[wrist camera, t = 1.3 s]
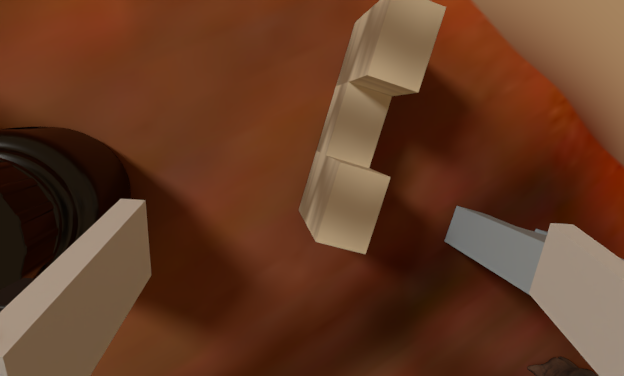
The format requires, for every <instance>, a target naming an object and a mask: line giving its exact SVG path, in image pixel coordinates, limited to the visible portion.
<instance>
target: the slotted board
mask: <svg viewBox="0 0 624 376" xmlns="http://www.w3.org/2000/svg"><path fill="white" fill-rule="evenodd" d="M445 9H446V7H444V6H441V5H439V4H436V3H434V2H431V1H429V0H380V1H379V2H377V3H376V4H375V5H374V6H373V7H372V8H371V9H370V10H368V11H367V12H366V13H365V14H364V15H363V16H362V17H361V18H360V19H358V20H357V21H356V22H355V25H354V28H353V32H352V35H351V38H350V42H349V45H348V48H347V52H346V55H345V58H344V61H343V65H342V68H341V71H340V75H339V78H338V81H337V85H336V88H335V91H334V95H333V98H332V101H331V105H330V108H329V111H328V115H327V118H326V121H325V124H324V128H323V131H322V134H321V138H320V141H319V144H318V148H317V151H316V154H315V158H314V161H313V164H312V168H311V171H310V174H309V177H308V181H307V184H306V187H305V191H304V194H303V197H302V201H301V204H300V207H299V212H300V214H301V216H302V217H303V219H304V221H305V223H306V225H307V227H308V229H309V230H310V232H311V234H312V236H313V238H314V240H315V241H316V242H319V243H322V244H326V245H330V246H334V247H338V248H342V249H346V250H350V251H354V252H358V253H362V254H366V252H367V248H368V245H369V242H370V239H371V236H372V233H373V230H374V227H375V224H376V221H377V218H378V215H379V212H380V209H381V206H382V202H383V199H384V196H385V193H386V190H387V187H388V184H389V181H390V178H391V177H389V176H387V175H384V174H382V173H380V172H377V171H375V170H372V169H370V168H369V167H370V164H371V161H372V158H373V155H374V152H375V148H376V145H377V142H378V139H379V136H380V133H381V130H382V126H383V123H384V120H385V117H386V114H387V111H388V108H389V104H390V101H391V98H392V96H399V95H405V94H412V93H418V92H419V89H420V86H421V83H422V80H423V77H424V74H425V71H426V68H427V65H428V62H429V58H430V55H431V52H432V49H433V46H434V43H435V40H436V37H437V34H438V31H439V28H440V25H441V22H442V19H443V16H444V12H445Z"/></svg>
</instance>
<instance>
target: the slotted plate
mask: <svg viewBox="0 0 624 376" xmlns="http://www.w3.org/2000/svg"><path fill="white" fill-rule="evenodd" d="M547 233H548V232H546V231H542V230H539V229H536V230H535V232H533V231H530V230H526V229H523V228H519V227H516V226H514V225H511V224H509V223H506V222H504V221H501V220H499V219H497V218H494V217H492V216H489V215H487V214H484V213H480V212H477V211H473V210H470V209H467V208H463V207H460V206H457V207H456V210H455V212H454V215H453V218H452V221H451V224H450V227H449V230H448V232H447V235H446V238H445V242H446V243H448V244H450V245H451V246H453V247H454V248H456V249H458V250H459V251H461V252H462V253H464V254H465V255H467V256H469V257H470V258H472V259H473V260H475V261H477V262H478V263H480V264H481V265H483V266H484V267H486V268H488V269H489V270H491V271H492V272H494V273H496V274H497V275H499V276H500V277H502V278H503V279H505V280H507V281H508V282H510V283H511V284H513V285H515V286H516V287H518V288H519V289H521V290H522V291H524V292H526V293H527V294H529V291H530V288H531V285H532V281H533V278H534V275H535V272H536V269H537V265H538V262H539V259H540V256H541V253H542V249H543V246H544V243H545V240H546V236H547ZM620 259H621V258H620ZM621 260H623V261H624V259H621ZM529 295H530V294H529Z"/></svg>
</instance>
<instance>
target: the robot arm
mask: <svg viewBox="0 0 624 376" xmlns="http://www.w3.org/2000/svg"><path fill="white" fill-rule="evenodd" d="M150 277H151V263H150V250H149V237H148V224H147V212H146V200H135V199H120V200H119V201H118V202H117V203H116V204H115V205H113V206H112V207H111V208H110V209H109V210H108V211H107V212H106V213H105V214H104V215H103V216H102V217H101V218H100V219H99V220H98V221H96V222H95V223H94V224H93V225H92V226H91V227H90V228H89V229H88V230H87V231H86V232H85V233H84V234H83V235H82V236H81V237H79V238H78V239H77V240H76V241H75V242H74V243H73V244H72V245H71V246H70V247H69V248H68V249H67V250H66V251H65V252H63V253H62V254H61V255H60V256H59V257H58V258H57V259H56V260H55V261H54V262H53V263H52V264H51V265H50V266H49V267H48V268H46V269H45V270H44V271H43V272H42V273H41V274H40V275H39V276H38V277H37V278H22V279H20V280H18V281H16V282H14V283H12V284H10V285H8V286H6V287H5V288H3V289H1V290H0V376H90V375H91V373H92V372H93V370H94V369H95V367H96V365H97V364H98V362H99V360H100V359H101V357H102V355H103V354H104V352H105V350H106V349H107V347H108V346H109V344H110V342H111V341H112V339H113V337H114V336H115V334H116V332H117V331H118V329H119V328H120V326H121V324H122V323H123V321H124V319H125V318H126V316H127V314H128V313H129V311H130V309H131V308H132V306H133V305H134V303H135V301H136V300H137V298H138V296H139V295H140V293H141V291H142V290H143V288H144V287H145V285H146V283H147V282H148V280H149V278H150ZM529 294H530V296H531V297H532V298H533V299H534V300H535V301H536V303H537V304H538V305H539V306H540V307H541V308H542V310H543V311H544V312H545V313H546V314H547V315H548V317H549V318H550V319H551V320H552V321H553V322H554V324H555V325H556V326H557V327H558V328H559V329H560V331H561V332H562V333H563V334H564V335H565V336H566V338H567V339H568V340H569V341H570V342H571V343H572V345H573V346H574V347H575V348H576V349H577V350H578V352H579V353H580V354H581V355H582V356H583V357H584V359H585V360H586V361H587V362H588V363H589V365H590V366H591V367H592V368H593V369H594V370H595V372H596V373H597V374H598V375H599V376H624V261H623V260H621V259H620V258H619V257H617V256H616V255H615V254H613V253H612V252H610V251H609V250H608V249H606V248H605V247H603V246H602V245H601V244H599V243H598V242H597V241H595V240H594V239H592V238H591V237H590V236H588V235H587V234H586V233H584V232H583V231H581V230H580V229H579V228H577V227H576V226H574V225H573V224H555V223H551V224H550V227H549V230H548V233H547V236H546V240H545V243H544V246H543V249H542V253H541V256H540V259H539V262H538V265H537V269H536V272H535V275H534V278H533V281H532V285H531V288H530V291H529Z"/></svg>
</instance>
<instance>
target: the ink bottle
mask: <svg viewBox="0 0 624 376" xmlns="http://www.w3.org/2000/svg"><path fill="white" fill-rule="evenodd" d="M130 198H131V192H130V184H129V179H128V176H127V173H126V171H125V169H124V167H123V165H122V163H121V162H120V160H119V159H118V158H117V157H116V155H115V154H114V153H113V152H112V151H111V150H110V149H109V148H107V147H106V146H105V145H104V144H102V143H101V142H99V141H98V140H96V139H94V138H92V137H90V136H88V135H86V134H84V133H81V132H78V131H75V130H71V129H66V128H58V127H46V126H45V127H42V128H38V127H22V128H9V129H2V130H0V290H1V289H3V288H5V287H6V286H8V285H10V284H12V283H14V282H16V281H18V280H20V279H22V278H37V277H38V276H39V275H40V274H41V273H42V272H43V271H44V270H45V269H46V268H48V267H49V266H50V265H51V264H52V263H53V262H54V261H55V260H56V259H57V258H58V257H59V256H60V255H61V254H62V253H63V252H65V251H66V250H67V249H68V248H69V247H70V246H71V245H72V244H73V243H74V242H75V241H76V240H77V239H78V238H79V237H81V236H82V235H83V234H84V233H85V232H86V231H87V230H88V229H89V228H90V227H91V226H92V225H93V224H94V223H95V222H96V221H98V220H99V219H100V218H101V217H102V216H103V215H104V214H105V213H106V212H107V211H108V210H109V209H110V208H111V207H112V206H113V205H115V204H116V203H117V202H118V201H119V200H120V199H130Z"/></svg>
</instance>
